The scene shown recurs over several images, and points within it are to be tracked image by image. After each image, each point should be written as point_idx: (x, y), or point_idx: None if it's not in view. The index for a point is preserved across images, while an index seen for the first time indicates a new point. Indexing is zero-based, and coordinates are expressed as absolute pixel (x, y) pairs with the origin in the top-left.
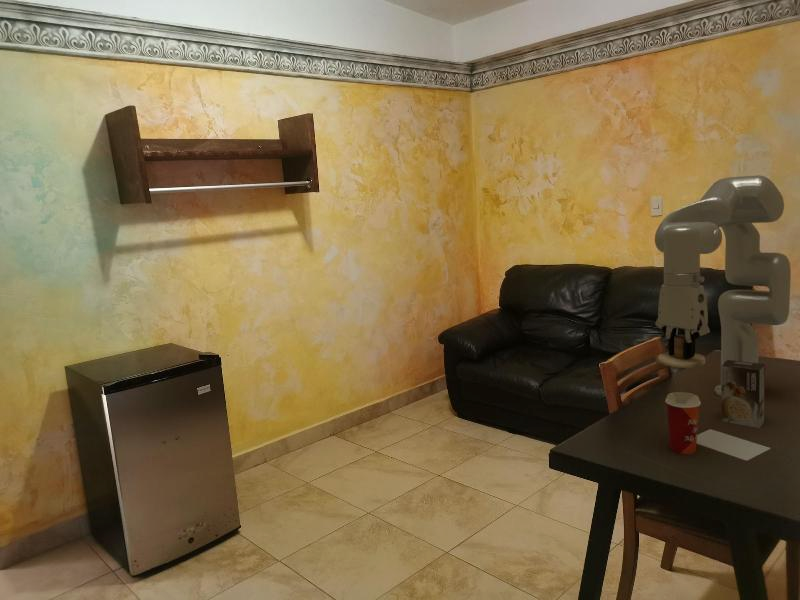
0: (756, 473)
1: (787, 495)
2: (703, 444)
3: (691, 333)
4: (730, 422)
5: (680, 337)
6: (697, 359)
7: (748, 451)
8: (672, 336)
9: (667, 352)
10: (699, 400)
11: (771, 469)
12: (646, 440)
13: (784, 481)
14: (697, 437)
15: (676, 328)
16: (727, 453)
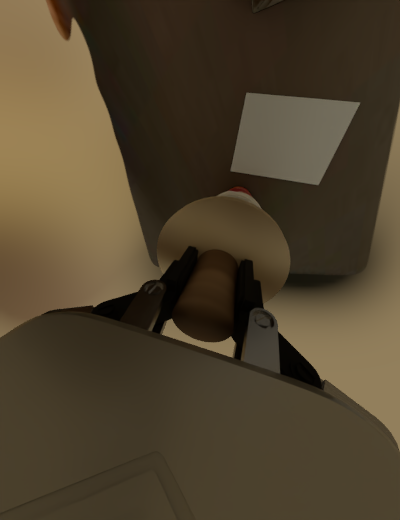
0: (330, 206)
1: (365, 238)
2: (254, 171)
3: (244, 343)
4: (272, 2)
5: (204, 332)
6: (267, 271)
7: (319, 149)
8: (168, 319)
9: (161, 239)
10: (257, 204)
11: (351, 182)
12: (192, 199)
13: (366, 207)
14: (240, 150)
15: (151, 330)
16: (290, 179)
